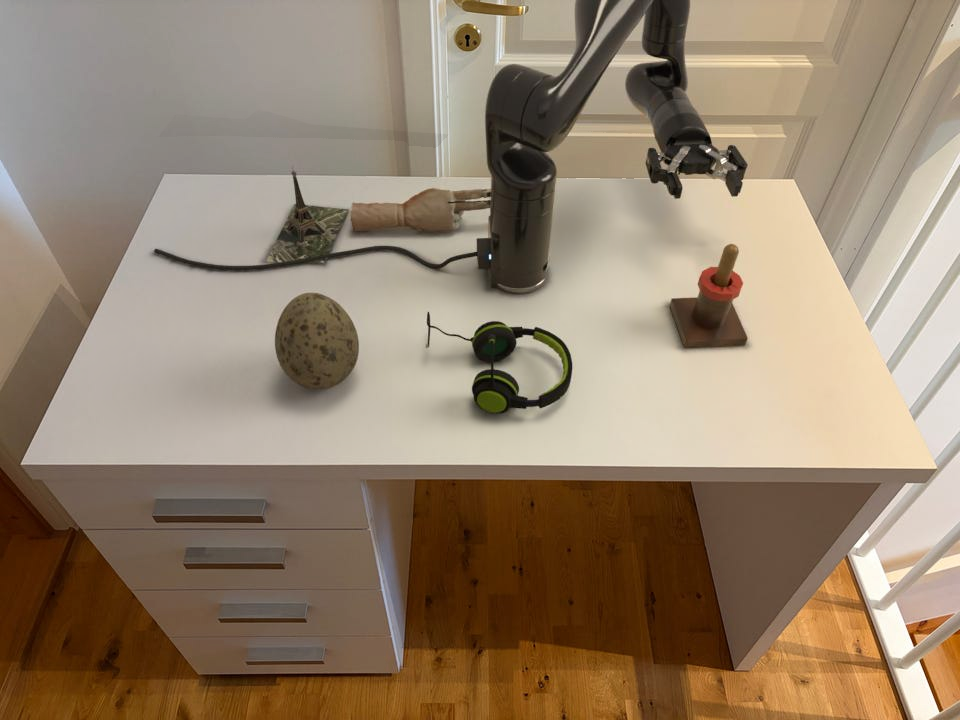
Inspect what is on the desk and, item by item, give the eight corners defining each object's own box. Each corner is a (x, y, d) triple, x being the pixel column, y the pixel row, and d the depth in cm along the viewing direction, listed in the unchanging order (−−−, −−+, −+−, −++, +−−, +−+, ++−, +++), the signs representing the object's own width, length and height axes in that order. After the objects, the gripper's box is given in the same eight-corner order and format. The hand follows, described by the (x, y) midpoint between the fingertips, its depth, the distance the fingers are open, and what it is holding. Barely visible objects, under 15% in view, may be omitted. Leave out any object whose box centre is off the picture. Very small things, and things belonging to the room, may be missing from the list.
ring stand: (684, 348, 105) (709, 268, 94) (669, 305, 111) (691, 226, 100) (745, 345, 106) (777, 266, 95) (726, 303, 112) (754, 223, 101)
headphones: (424, 285, 100) (570, 285, 100) (428, 334, 107) (563, 334, 107) (418, 372, 89) (581, 372, 89) (423, 420, 96) (573, 420, 96)
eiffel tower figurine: (326, 266, 117) (313, 197, 107) (265, 261, 117) (246, 191, 108) (349, 211, 127) (339, 142, 117) (293, 206, 127) (277, 138, 118)
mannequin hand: (363, 224, 128) (505, 221, 125) (353, 241, 122) (502, 238, 119) (357, 185, 124) (503, 180, 121) (346, 200, 118) (500, 196, 115)
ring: (704, 302, 101) (706, 294, 100) (693, 274, 105) (695, 267, 104) (745, 300, 101) (748, 293, 100) (732, 273, 105) (735, 265, 104)
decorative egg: (335, 418, 96) (317, 340, 85) (269, 390, 99) (243, 310, 88) (378, 365, 102) (367, 285, 91) (315, 340, 106) (297, 260, 95)
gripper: (640, 113, 113) (664, 172, 102) (729, 110, 114) (763, 168, 103) (632, 155, 119) (655, 215, 108) (717, 152, 119) (748, 211, 109)
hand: (708, 192), depth 106 cm, fingers open, 8 cm apart
